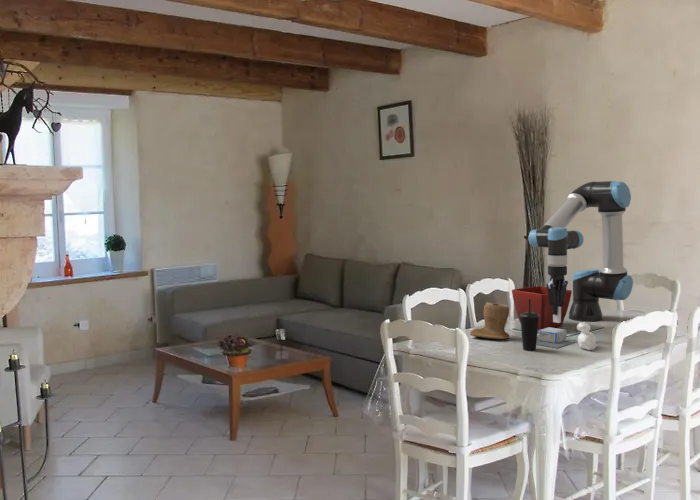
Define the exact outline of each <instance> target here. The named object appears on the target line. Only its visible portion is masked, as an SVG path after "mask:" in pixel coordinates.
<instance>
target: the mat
mask: <svg viewBox="0 0 700 500" xmlns="http://www.w3.org/2000/svg"><path fill="white" fill-rule="evenodd" d="M572 343H573V344H575V343H576V342H575V341H571V340H567V339H566V340H564V341H561V342H558V343H551V342H545V341H540V340H539V335H537V343H536V346H542V347H546V348H551V349H561V348H563V347H566V345H567V346H570V345H572ZM569 344H570V345H569Z"/></svg>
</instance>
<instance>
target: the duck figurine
mask: <svg viewBox="0 0 700 500" xmlns="http://www.w3.org/2000/svg"><path fill="white" fill-rule="evenodd" d="M576 330H577V331H580V334H579V335H578V337H577V344H578V346H579V347H580V349H584V350H587V351H594V350H595V349H596V347H597V346H598V345H597V341H596V337H595V335H594V333H592V332H591V325H590V324H588V322H586V321H582V322H581V321H579V323H578V324H577V325H576Z"/></svg>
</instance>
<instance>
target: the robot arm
mask: <svg viewBox="0 0 700 500" xmlns="http://www.w3.org/2000/svg"><path fill="white" fill-rule="evenodd" d="M631 200H632V195H631V191H630V188H629V186H628V184H627V183H625V181H618V180H617V181H616V180H608V181H589V182H586V183H583V184H581V185H579V186H578V187H577V188H575V189H574V190H573V191H572V192H570V193H569V195H568V196H567V197H566V201H565V202H564V203H563V204H562V205H561V206H560V207H559V209H557V210H556V211H555V213H554V214H552V215H551V217H550V218H549V219H548V220H547V221H546V222H545V223H544V225H542V227H540V229H538V228H537V229H532V230H530V231H529V234H528V238H527V239H528V242H529V243H528V244H529V245H530V246H532V247H535V248H547V265H548V266H547V275H549V276H550V277H549V282H548V283H545V284H546V285H545V287H547V289H548V296H549V303H550V306H552V307H553V322H556V323H561V306H562V307H563V306H564V305H562V304H564V302H565V295H566V290H567V289H568V288H567V287H568V283H569V281H568V280H566V279H565V276H567V274H568V266H567V265H568V250H572V249H573V250H575V249H578V248H580V247H581V246H582V245H583V244H584V241H585V240H584V235H583V234H582V232H580V231H579V230H572V229H571V230H568V229H567V226H569V224H570V223H571V222H572V220H574V219H575V218H576V216H577V215H578V214H580V213H582V212H583V211H585V210H587V209H588V208H597V212H598V214H600V215H601V231H602V232H601V234H602V235H601V236H602V263H603V266H602V268H601V269H595V268H594V269H583V270H581V269H580V270H576V271H575V272H573V274H572V275H573V276H572V303H571V305H570V309H569V311H568V319H571V320H574V321H579V322H581V321H582V322H597V321H602V320H603V311H602V309H601V305H600V303H599V302H600V299H607V300H613V301H625V300H627V299H628V298H629V297H630V295H631V292H632V291H633V285H634V279H633V277H632V276H631V275H630V274H628V269H627V268H625V267H624V244H623V243H624V237H623V236H624V235H623V214H624V213H625V212H626V211H627V210H626V208H629V206H630V204H631Z"/></svg>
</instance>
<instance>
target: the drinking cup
mask: <svg viewBox="0 0 700 500" xmlns="http://www.w3.org/2000/svg"><path fill="white" fill-rule="evenodd" d="M530 304H531V299H529V312H524V313H522V314H520V315H519V316H520V320H521V323H520V330H521V337H522V338H521V340H522V341H521V343H522V350H523V351H528V352H533V351H536V350H537V345H536V343H537V337H538V333H539V329H538V322H539V317H540V315H539V314H536V313H534V312H530Z"/></svg>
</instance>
